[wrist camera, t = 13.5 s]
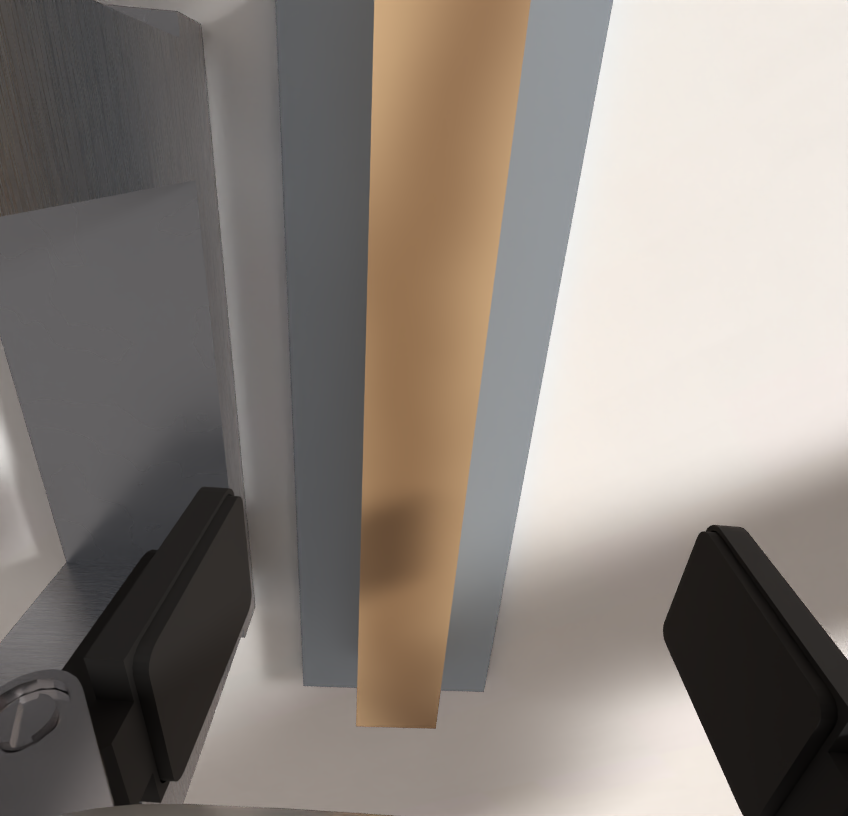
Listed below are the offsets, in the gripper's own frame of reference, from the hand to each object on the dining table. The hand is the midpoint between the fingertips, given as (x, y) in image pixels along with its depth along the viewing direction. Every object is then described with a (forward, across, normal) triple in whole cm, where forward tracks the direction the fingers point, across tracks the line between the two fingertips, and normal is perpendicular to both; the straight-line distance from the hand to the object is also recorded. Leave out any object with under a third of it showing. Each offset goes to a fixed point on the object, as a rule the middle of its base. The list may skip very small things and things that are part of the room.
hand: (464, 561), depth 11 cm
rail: (+7, +1, 0) cm, 7 cm away
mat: (+8, +1, 0) cm, 8 cm away
